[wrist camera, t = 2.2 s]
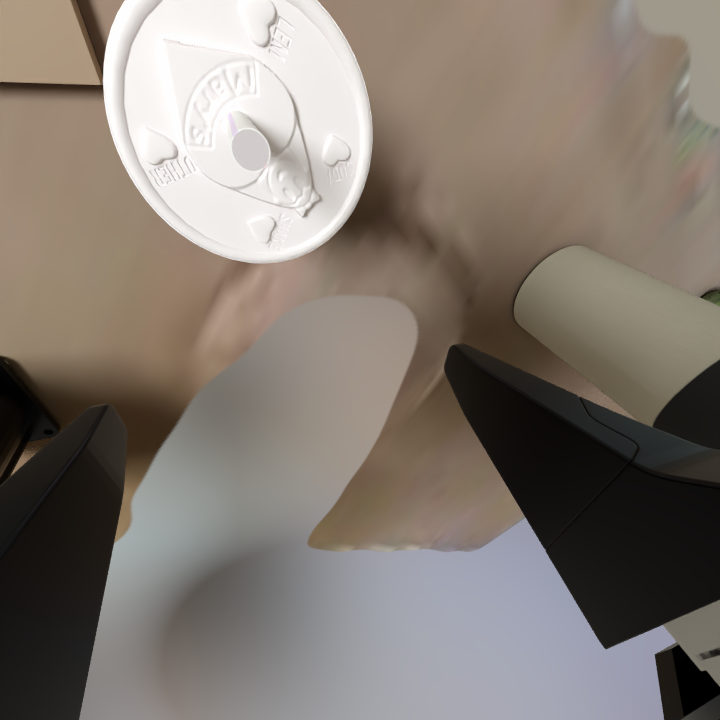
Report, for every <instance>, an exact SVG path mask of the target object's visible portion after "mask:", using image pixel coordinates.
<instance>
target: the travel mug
mask: <svg viewBox="0 0 720 720" xmlns="http://www.w3.org/2000/svg"><path fill="white" fill-rule="evenodd" d="M514 317H515V320H516V322H517V323H518V324H519V325H520V326H521V327H522V328H523V329H525V330H526V331H527V332H528V333H530V334H531V335H532V336H533V337H535V338H536V339H537V340H538V341H540V342H541V343H542V344H543V345H545V346H546V347H547V348H548V349H550V350H551V351H552V352H553V353H555V354H556V355H557V356H558V357H560V358H561V359H562V360H563V361H565V362H566V363H567V364H568V365H569V366H571V367H572V368H573V369H574V370H576V371H577V372H578V373H579V374H581V375H582V376H583V377H584V378H586V379H587V380H588V381H589V382H591V383H592V384H593V385H594V386H596V387H597V388H598V389H599V390H601V391H602V392H603V393H604V394H606V395H607V396H608V397H609V398H611V399H612V400H613V401H614V402H615V403H617V404H618V405H619V406H620V407H622V408H623V409H624V410H625V411H627V412H628V413H629V414H630V415H632V416H633V417H634V418H635V419H637V420H638V421H639V422H640V423H643V424H646V425H648V426H651V427H653V428H656V429H658V430H661V431H663V432H666V433H668V434H671V435H673V436H676V437H679V438H681V439H684V440H686V441H689V442H691V443H694V444H697V445H700V446H703V447H707V448H711V449H716V450H720V306H718V305H716V304H713V303H711V302H709V301H707V300H704V299H702V298H700V297H698V296H695V295H693V294H691V293H689V292H686V291H684V290H682V289H680V288H677V287H675V286H673V285H671V284H668V283H666V282H664V281H662V280H659V279H657V278H655V277H653V276H650V275H648V274H646V273H644V272H641V271H639V270H637V269H635V268H632V267H630V266H628V265H626V264H623V263H621V262H619V261H617V260H615V259H612V258H610V257H608V256H606V255H603V254H601V253H599V252H597V251H594V250H592V249H590V248H588V247H585V246H581V245H575V246H569V247H566V248H563V249H561V250H559V251H557V252H555V253H553V254H552V255H550V256H549V257H547V258H546V259H545V260H543V261H542V262H541V263H540V264H539V265H538V266H537V267H536V268H535V269H534V270H533V271H532V272H531V273H530V275H529V276H528V277H527V279H526V280H525V281H524V283H523V285H522V286H521V288H520V290H519V292H518V295H517V297H516V300H515V305H514Z"/></svg>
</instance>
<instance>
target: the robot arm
mask: <svg viewBox="0 0 720 720" xmlns="http://www.w3.org/2000/svg"><path fill="white" fill-rule="evenodd" d="M444 371H445V374H446V376H447V379H448V381H449V383H450V385H451V387H452V389H453V392H454V394H455V396H456V398H457V400H458V402H459V405H460V407H461V409H462V411H463V413H464V415H465V417H466V418H467V420H468V422H469V423H470V425H471V427H472V428H473V430H474V432H475V433H476V435H477V437H478V439H479V440H480V442H481V444H482V445H483V447H484V449H485V450H486V452H487V454H488V455H489V457H490V459H491V460H492V462H493V464H494V465H495V467H496V469H497V470H498V472H499V474H500V475H501V477H502V479H503V480H504V482H505V484H506V485H507V487H508V489H509V490H510V492H511V494H512V495H513V497H514V499H515V500H516V502H517V504H518V505H519V507H520V509H521V510H522V512H523V514H524V516H525V517H526V519H527V521H528V522H529V524H530V526H531V527H532V529H533V531H534V532H535V534H536V536H537V537H538V539H539V541H540V542H541V544H542V546H543V547H544V549H546V553H547V554H548V556H549V558H550V559H551V561H552V563H553V564H554V566H555V568H556V569H557V571H558V573H559V574H560V576H561V578H562V579H563V581H564V583H565V584H566V586H567V588H568V589H569V591H570V593H571V594H572V596H573V598H574V600H575V601H576V603H577V605H578V606H579V608H580V610H581V611H582V613H583V615H584V616H585V618H586V619H587V621H588V623H589V624H590V626H591V628H592V630H593V631H594V633H595V635H596V636H597V638H598V640H599V641H600V642H601V644H602V645H603V647H604V648H605V649H608V648H610V647H613V646H615V645H617V644H620V643H622V642H624V641H626V640H629V639H631V638H633V637H636V636H638V635H640V634H643V633H645V632H647V631H649V630H652V629H654V628H656V627H659V626H661V625H663V626H664V627H665V628H666V629H667V630H668V632H669V633H670V634H671V635H672V637H673V638H674V639H675V640H676V643H675V644H673V645H671V646H669V647H667V648H666V649H664V650H662V651H660V652H658V653H656V654H655V659H656V666H657V672H658V679H659V686H660V693H661V700H662V707H663V714H664V720H720V450H716V449H711V448H707V447H703V446H700V445H697V444H694V443H691V442H689V441H686V440H684V439H681V438H679V437H676V436H673V435H671V434H668V433H666V432H663V431H661V430H658V429H656V428H653V427H651V426H648V425H646V424H643V423H640V422H638V421H635V420H633V419H631V418H628V417H626V416H623V415H621V414H618V413H616V412H613V411H611V410H609V409H607V408H604V407H602V406H600V405H597V404H595V403H593V402H591V401H589V400H586V399H584V398H582V397H578V396H577V395H575V394H573V393H571V392H569V391H567V390H564V389H562V388H560V387H558V386H556V385H553V384H551V383H549V382H547V381H545V380H543V379H540V378H538V377H536V376H534V375H532V374H529V373H527V372H525V371H523V370H521V369H518V368H516V367H514V366H512V365H510V364H507V363H505V362H503V361H501V360H499V359H496V358H494V357H492V356H490V355H488V354H486V353H483V352H481V351H479V350H477V349H475V348H472V347H470V346H468V345H466V344H456V345H452V346H451V347H450V348H449V350H448V354H447V358H446V361H445V365H444ZM48 429H49V430H48ZM59 431H60V426H59V424H58V423H57V422H56V421H55V420H54V419H53V417H52V416H51V415H50V414H49V413H48V411H47V410H46V409H45V408H44V407H43V406H42V404H41V403H40V402H39V401H38V400H37V398H36V397H35V396H34V395H33V394H32V393H31V391H30V390H29V389H28V388H27V387H26V385H25V384H24V383H23V382H22V381H21V380H20V378H19V377H18V376H17V375H16V374H15V372H14V371H13V370H12V369H11V368H10V367H9V365H8V364H7V363H6V362H5V361H4V360H2V359H0V720H79V717H80V711H81V707H82V702H83V697H84V691H85V687H86V681H87V677H88V671H89V666H90V661H91V656H92V651H93V646H94V641H95V636H96V631H97V626H98V621H99V616H100V611H101V606H102V601H103V596H104V591H105V586H106V581H107V575H108V570H109V565H110V560H111V555H112V550H113V545H114V540H115V535H116V530H117V525H118V520H119V515H120V510H121V505H122V499H123V493H124V481H125V465H126V449H127V429H126V426H125V424H124V422H123V421H122V419H121V418H120V416H119V414H118V413H117V411H116V409H115V408H114V407H113V406H112V405H111V404H101V405H95V406H91V407H88V408H87V409H86V410H84V411H83V412H82V413H81V414H80V415H79V416H78V417H77V418H75V419H74V420H73V421H72V422H71V423H70V424H69V425H68V426H66V427H65V428H64V429H63V430H62V431H61V432H60V433H59ZM58 433H59V434H58ZM54 436H55V437H54ZM50 437H54V438H53V439H52V440H51V441H50V442H49V443H47V444H46V445H45V446H44V447H43V448H42V449H41V450H40V451H38V452H37V453H36V454H35V455H34V456H33V457H32V458H31V459H29V460H28V461H27V462H26V463H25V464H24V465H23V466H22V467H20V468H19V469H18V470H17V471H16V472H15V473H14V474H13V475H12V476H11V474H12V472H13V470H14V468H15V466H16V464H17V462H18V461H19V459H20V457H21V455H22V453H23V451H24V449H25V447H26V445H27V444H28V442H30V441H35V440H40V439H45V438H50Z"/></svg>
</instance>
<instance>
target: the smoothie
mask: <svg viewBox="0 0 720 720" xmlns="http://www.w3.org/2000/svg"><path fill="white" fill-rule="evenodd" d="M103 88H104V101H105V107H106V114H107V118H108V122H109V126H110V131H111V134H112V137H113V140H114V143H115V146H116V148H117V151H118V153H119V155H120V158H121V160H122V162H123V164H124V166H125V168H126V170H127V172H128V174H129V176H130V177H131V179H132V181H133V182H134V184H135V185H136V187H137V188H138V190H139V191H140V193H141V194H142V195H143V197H144V198H145V199H146V201H147V202H148V203H149V204H150V206H151V207H152V208H153V209H154V210H155V211H156V212H157V213H158V215H159V216H161V217H162V218H163V219H164V220H165V221H166V222H167V223H168V224H169V225H170V226H171V227H172V228H174V229H175V230H176V231H177V232H179V233H180V234H181V235H183V236H184V237H186V238H187V239H188V240H190V241H192V242H193V243H195V244H197V245H198V246H200V247H202V248H204V249H206V250H208V251H210V252H212V253H215V254H217V255H220V256H223V257H226V258H229V259H233V260H238V261H242V262H250V263H275V262H282V261H287V260H290V259H294V258H297V257H300V256H302V255H305V254H307V253H309V252H311V251H313V250H314V249H316V248H318V247H319V246H321V245H322V244H324V243H325V242H326V241H328V240H329V239H330V238H331V237H332V236H333V235H334V234H336V232H337V231H338V230H339V229H340V228H341V227H342V226H343V225H344V223H345V222H346V221H347V219H348V218H349V217H350V215H351V213H352V212H353V210H354V209H355V207H356V205H357V203H358V201H359V199H360V196H361V194H362V191H363V189H364V186H365V183H366V180H367V176H368V172H369V167H370V161H371V154H372V118H371V110H370V104H369V98H368V94H367V90H366V86H365V82H364V79H363V76H362V73H361V70H360V68H359V65H358V63H357V60H356V58H355V55H354V53H353V51H352V49H351V48H350V46H349V44H348V42H347V40H346V38H345V37H344V35H343V33H342V32H341V30H340V28H339V27H338V25H337V24H336V23H335V21H334V20H333V19H332V17H331V16H330V15H329V13H328V12H327V11H326V10H325V9H324V7H323V6H322V5H321V4H320V3H319V2H318V1H317V0H125V1H124V2H123V4H122V6H121V8H120V9H119V11H118V13H117V15H116V18H115V20H114V22H113V25H112V27H111V30H110V34H109V38H108V41H107V45H106V51H105V58H104V70H103Z"/></svg>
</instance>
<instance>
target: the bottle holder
mask: <svg viewBox="0 0 720 720" xmlns="http://www.w3.org/2000/svg"><path fill="white" fill-rule="evenodd" d="M0 82H23V83H54V84H85V85H103V75H102V72H101V69H100V66H99V64H98V61H97V58H96V55H95V52H94V49H93V47H92V44H91V41H90V38H89V35H88V32H87V30H86V27H85V24H84V21H83V18H82V15H81V13H80V10H79V7H78V4H77V1H76V0H0Z"/></svg>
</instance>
